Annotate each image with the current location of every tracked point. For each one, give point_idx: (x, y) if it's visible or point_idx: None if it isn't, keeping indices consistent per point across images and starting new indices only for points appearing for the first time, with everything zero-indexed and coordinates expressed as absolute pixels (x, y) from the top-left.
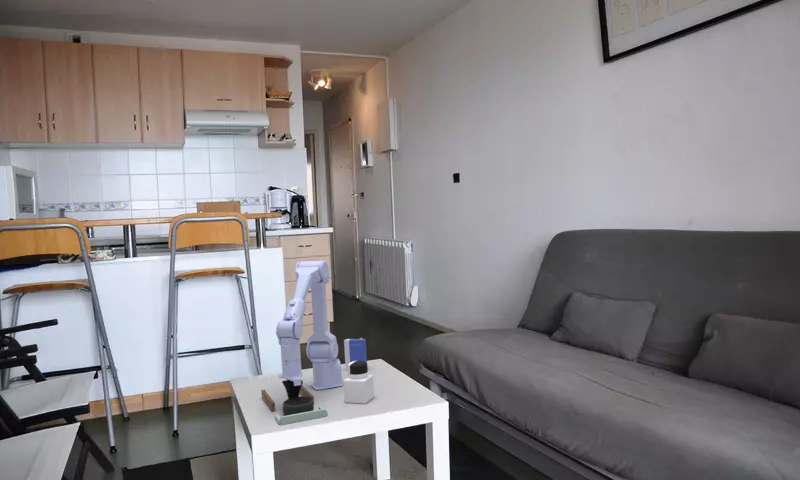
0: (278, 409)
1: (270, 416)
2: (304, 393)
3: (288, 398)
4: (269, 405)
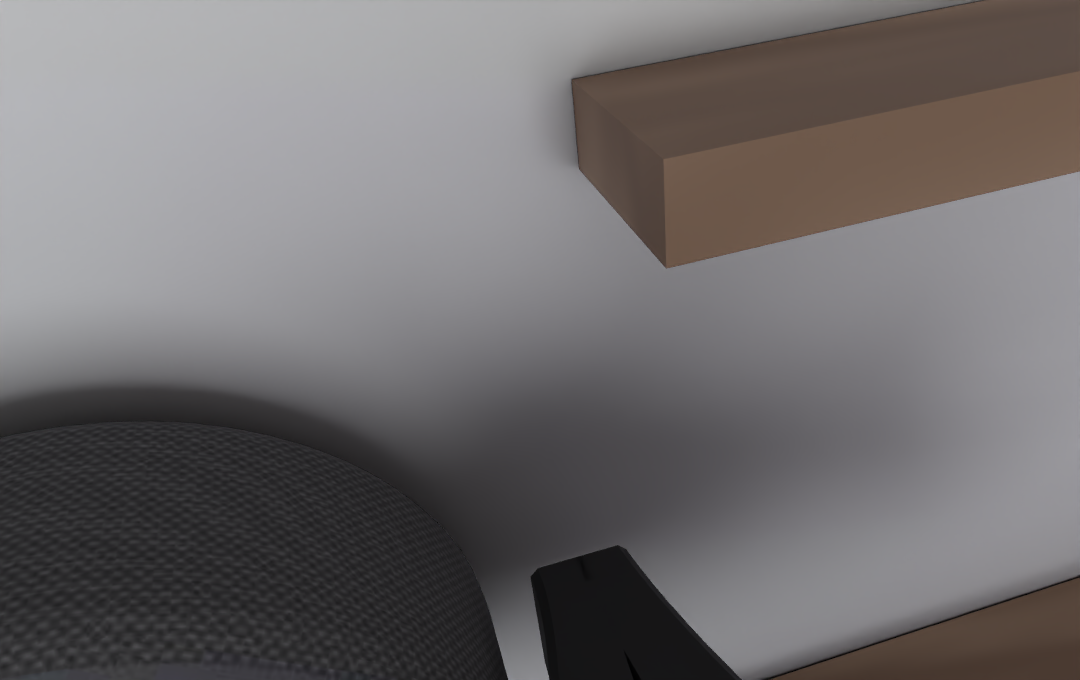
0: None
1: (108, 26)
2: (1050, 673)
3: (661, 644)
4: (923, 40)
